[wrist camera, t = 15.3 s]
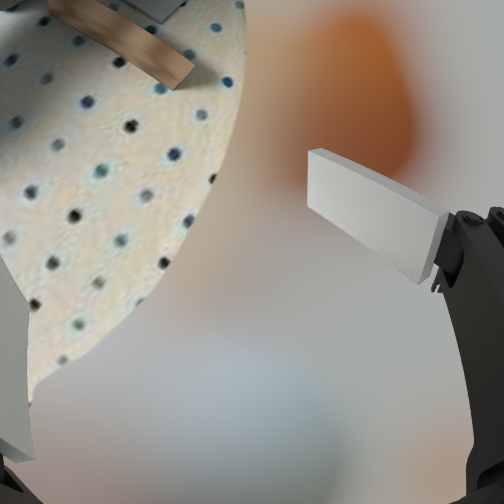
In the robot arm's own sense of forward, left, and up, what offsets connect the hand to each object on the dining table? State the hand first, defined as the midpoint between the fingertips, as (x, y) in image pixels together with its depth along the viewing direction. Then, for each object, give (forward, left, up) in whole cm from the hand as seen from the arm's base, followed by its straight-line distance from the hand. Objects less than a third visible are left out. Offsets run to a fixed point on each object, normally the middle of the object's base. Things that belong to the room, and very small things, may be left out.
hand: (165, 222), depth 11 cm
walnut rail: (-12, +15, -24) cm, 31 cm away
